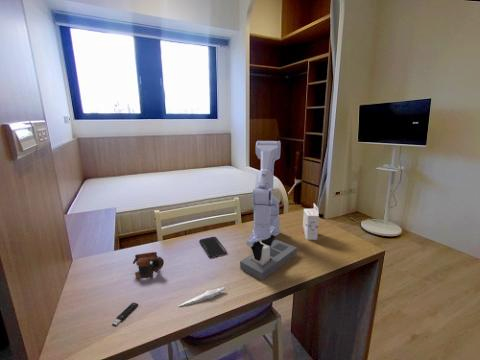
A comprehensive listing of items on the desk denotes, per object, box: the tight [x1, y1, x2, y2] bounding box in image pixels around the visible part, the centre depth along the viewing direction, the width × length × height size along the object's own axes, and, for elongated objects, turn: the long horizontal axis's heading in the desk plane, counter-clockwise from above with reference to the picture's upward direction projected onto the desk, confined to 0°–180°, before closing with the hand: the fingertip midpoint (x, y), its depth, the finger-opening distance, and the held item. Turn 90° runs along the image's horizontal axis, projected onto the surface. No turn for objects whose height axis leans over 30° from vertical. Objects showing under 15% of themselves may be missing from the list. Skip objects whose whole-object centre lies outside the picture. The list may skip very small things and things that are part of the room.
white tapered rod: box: [177, 286, 226, 308], centre depth 73 cm, size 15×3×2 cm, turn 116°
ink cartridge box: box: [302, 202, 320, 241], centre depth 110 cm, size 9×5×15 cm, turn 179°
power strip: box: [239, 239, 298, 281], centre depth 92 cm, size 22×10×3 cm, turn 136°
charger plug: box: [253, 241, 270, 266], centre depth 87 cm, size 4×4×6 cm
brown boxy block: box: [132, 251, 165, 280], centre depth 87 cm, size 12×10×8 cm
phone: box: [198, 236, 228, 259], centre depth 102 cm, size 8×1×15 cm
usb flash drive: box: [111, 302, 139, 327], centre depth 68 cm, size 8×2×1 cm, turn 161°
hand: (261, 256), depth 88 cm, fingers closed on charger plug, 4 cm apart
